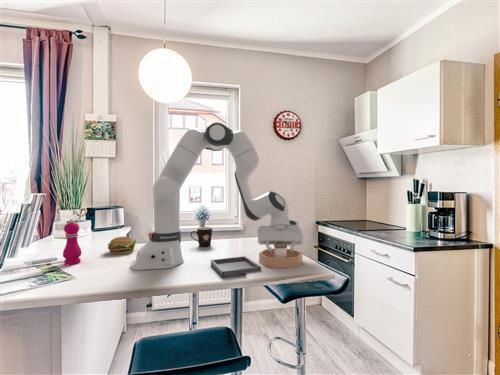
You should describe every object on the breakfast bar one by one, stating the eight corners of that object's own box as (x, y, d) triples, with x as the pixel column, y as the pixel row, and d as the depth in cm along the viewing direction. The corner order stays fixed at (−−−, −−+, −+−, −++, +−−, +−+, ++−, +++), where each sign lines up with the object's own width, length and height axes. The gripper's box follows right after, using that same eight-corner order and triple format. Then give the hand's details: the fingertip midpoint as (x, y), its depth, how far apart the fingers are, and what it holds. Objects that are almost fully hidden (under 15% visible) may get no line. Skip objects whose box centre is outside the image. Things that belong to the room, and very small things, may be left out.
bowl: (271, 272, 118) (271, 260, 118) (254, 261, 134) (254, 250, 134) (308, 267, 124) (308, 255, 124) (288, 257, 141) (288, 247, 141)
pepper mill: (59, 264, 131) (58, 220, 130) (73, 260, 138) (73, 218, 137) (71, 266, 128) (70, 220, 128) (85, 261, 135) (84, 218, 135)
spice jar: (277, 264, 125) (277, 245, 125) (271, 261, 131) (271, 243, 131) (289, 262, 128) (289, 244, 127) (283, 259, 133) (283, 242, 133)
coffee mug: (213, 244, 171) (213, 227, 170) (210, 247, 162) (210, 229, 162) (194, 244, 172) (194, 227, 172) (190, 247, 163) (189, 229, 163)
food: (103, 256, 145) (103, 240, 145) (111, 249, 159) (111, 235, 159) (133, 255, 148) (132, 239, 148) (138, 248, 162) (137, 234, 161)
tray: (222, 278, 111) (222, 271, 111) (210, 265, 128) (210, 259, 128) (261, 273, 117) (260, 266, 117) (245, 261, 134) (245, 256, 134)
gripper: (257, 222, 136) (256, 247, 127) (301, 222, 135) (304, 248, 126) (257, 230, 141) (257, 255, 131) (300, 230, 140) (303, 255, 130)
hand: (280, 251), depth 129 cm, fingers open, 8 cm apart
